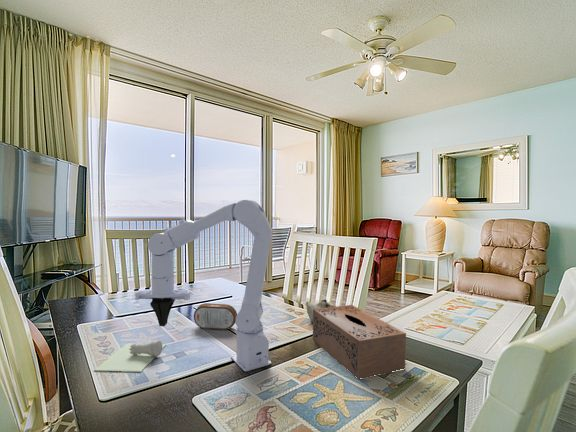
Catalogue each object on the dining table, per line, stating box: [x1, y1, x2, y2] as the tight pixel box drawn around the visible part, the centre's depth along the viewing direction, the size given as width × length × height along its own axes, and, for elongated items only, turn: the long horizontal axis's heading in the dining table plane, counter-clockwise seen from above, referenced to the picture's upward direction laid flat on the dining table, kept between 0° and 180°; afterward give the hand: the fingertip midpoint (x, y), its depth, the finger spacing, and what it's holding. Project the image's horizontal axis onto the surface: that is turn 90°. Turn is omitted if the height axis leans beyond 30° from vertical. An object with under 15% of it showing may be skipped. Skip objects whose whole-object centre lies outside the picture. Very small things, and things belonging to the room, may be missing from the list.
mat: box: [93, 342, 167, 373], centre depth 90 cm, size 12×16×1 cm
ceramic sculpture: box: [305, 299, 337, 323], centre depth 119 cm, size 11×9×15 cm
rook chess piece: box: [129, 339, 163, 358], centre depth 90 cm, size 4×4×8 cm
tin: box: [193, 302, 238, 331], centre depth 111 cm, size 15×3×8 cm, turn 84°
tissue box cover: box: [312, 304, 407, 380], centre depth 94 cm, size 26×14×10 cm, turn 22°
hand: (163, 325), depth 89 cm, fingers closed
